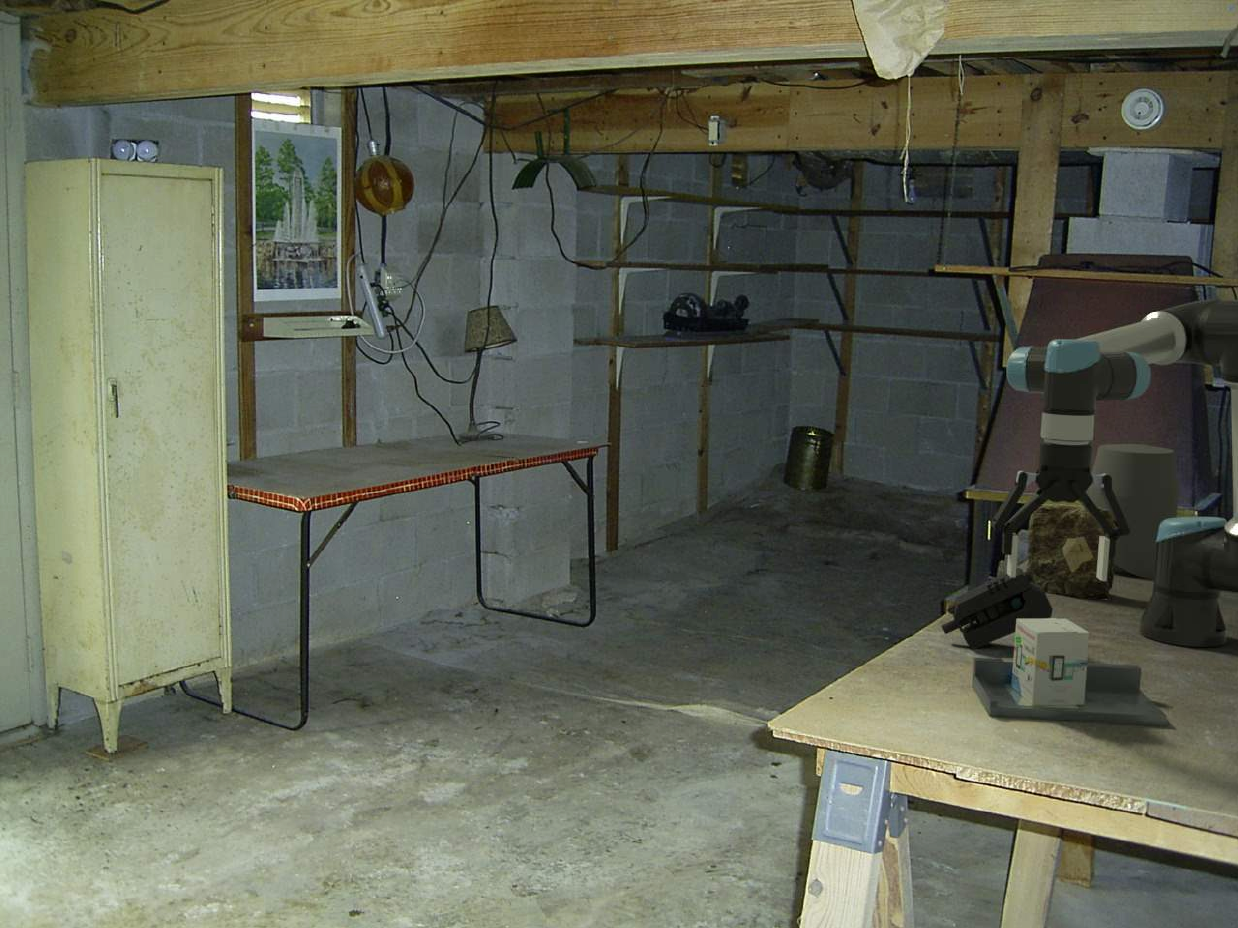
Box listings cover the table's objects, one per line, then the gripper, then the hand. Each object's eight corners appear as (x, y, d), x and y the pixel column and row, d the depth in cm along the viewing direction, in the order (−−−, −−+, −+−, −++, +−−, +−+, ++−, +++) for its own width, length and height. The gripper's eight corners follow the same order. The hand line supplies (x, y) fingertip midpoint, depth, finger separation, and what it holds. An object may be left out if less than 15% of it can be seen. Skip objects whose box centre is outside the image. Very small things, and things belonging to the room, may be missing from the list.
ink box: (1009, 687, 194) (1014, 616, 193) (1061, 687, 195) (1066, 616, 193) (1031, 705, 186) (1037, 631, 184) (1085, 705, 187) (1091, 631, 185)
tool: (1070, 640, 217) (1032, 566, 217) (970, 684, 222) (932, 612, 221) (1065, 631, 223) (1027, 559, 223) (968, 674, 228) (931, 603, 227)
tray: (1135, 695, 197) (1138, 664, 196) (1166, 725, 183) (1169, 692, 182) (972, 687, 199) (974, 656, 198) (989, 716, 185) (991, 683, 185)
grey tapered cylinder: (1139, 558, 302) (1149, 439, 298) (1189, 577, 283) (1201, 450, 278) (1065, 560, 299) (1074, 439, 295) (1111, 579, 279) (1122, 450, 275)
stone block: (1112, 593, 266) (1119, 503, 263) (1112, 602, 258) (1119, 510, 255) (1024, 584, 273) (1031, 496, 270) (1021, 592, 264) (1028, 502, 262)
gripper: (1142, 440, 188) (1131, 575, 191) (977, 435, 190) (969, 568, 193) (1159, 447, 180) (1147, 586, 183) (987, 441, 182) (978, 579, 185)
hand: (1056, 577), depth 188 cm, fingers open, 13 cm apart
